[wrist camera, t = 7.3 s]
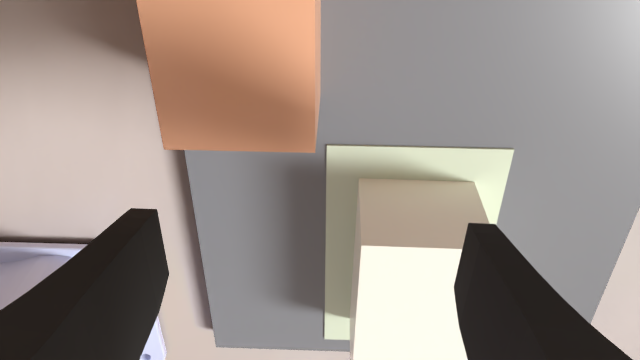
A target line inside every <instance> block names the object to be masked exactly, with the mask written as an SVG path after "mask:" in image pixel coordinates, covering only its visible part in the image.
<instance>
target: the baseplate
mask: <svg viewBox="0 0 640 360" xmlns="http://www.w3.org/2000/svg"><path fill="white" fill-rule="evenodd" d="M184 152H185V158H186V164H187V170H188V177H189V183H190V189H191V195H192V201H193V207H194V213H195V220H196V226H197V232H198V238H199V244H200V250H201V257H202V263H203V269H204V275H205V281H206V287H207V294H208V300H209V306H210V312H211V318H212V324H213V330H214V337H215V343H216V347H228V348H258V349H287V350H317V351H347V352H350V305H351V289H352V274H353V258H354V243H355V227H356V212H357V196H358V181H359V178H366V179H398V180H429V181H460V182H475V185H476V188H477V190H478V193H479V196H480V199H481V201H482V204H483V207H484V210H485V212H486V215H487V218H488V220H489V223H490V224H496V225H497V227H498V228H499V229H500V230H501V231H502V232H503V233H504V234H505V236H506V237H507V238H508V239H509V240H510V241H511V242H512V244H513V245H514V246H515V247H516V248H517V249H518V250H519V252H520V253H521V254H522V255H523V256H524V257H525V258H526V259H527V261H528V262H529V263H530V264H531V265H532V266H533V267H534V268H535V269H536V271H537V272H538V273H539V274H540V275H541V276H542V277H543V278H544V279H545V280H546V281H547V282H548V283H549V284H550V285H551V286H552V288H553V289H554V290H555V291H556V292H557V293H558V294H559V295H560V296H561V297H562V298H563V299H564V300H565V301H566V302H567V303H568V304H569V305H571V306H572V307H573V308H574V309H575V310H576V311H577V312H578V313H579V314H580V315H581V316H582V317H583V318H584V319H585V320H586V321H587V322H589V323H591V321H592V319H593V316H594V314H595V312H596V309H597V307H598V304H599V302H600V300H601V297H602V295H603V293H604V290H605V288H606V286H607V283H608V281H609V279H610V276H611V274H612V271H613V269H614V267H615V264H616V262H617V260H618V257H619V255H620V253H621V250H622V248H623V245H624V243H625V241H626V238H627V236H628V234H629V231H630V229H631V227H632V224H633V222H634V220H635V217H636V215H637V212H638V210H639V208H640V0H321V63H320V105H319V116H318V128H317V139H316V150H315V153H299V152H254V151H209V150H184Z"/></svg>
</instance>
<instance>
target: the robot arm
mask: <svg viewBox="0 0 640 360" xmlns="http://www.w3.org/2000/svg"><path fill="white" fill-rule="evenodd" d="M168 276H169V271H168V266H167V260H166V255H165V250H164V244H163V239H162V234H161V228H160V223H159V218H158V212H157V209H135V208H131V209H130V210H128V211H127V212H126V213H125V214H123V215H122V216H121V217H120V218H119V219H117V220H116V221H115V222H114V223H113V224H111V225H110V226H109V227H108V228H107V229H106V230H104V231H103V232H102V233H101V234H100V235H99V236H97V237H96V238H95V239H94V240H93V241H92V242H90V243H89V244H59V243H23V242H0V360H164V359H165V357H166V353H167V352H166V348H165V344H164V340H163V336H162V331H161V327H160V323H159V319H158V313H159V310H160V306H161V303H162V299H163V296H164V292H165V288H166V284H167V280H168ZM454 294H455V302H456V310H457V316H458V323H459V329H460V332H461V336H462V340H463V344H464V348H465V351H466V355H467V359H468V360H632V359H631V358H630V357H629V356H627V355H626V354H625V353H624V352H623V351H621V350H620V349H619V348H618V347H617V346H615V345H614V344H613V343H612V342H611V341H609V340H608V339H607V338H606V337H604V336H603V335H602V334H601V333H600V332H599V331H598V330H596V329H595V328H594V327H593V326H592V325H591V324H590V323H589V322H587V321H586V320H585V319H584V318H583V317H582V316H581V315H580V314H579V313H578V312H577V311H576V310H575V309H574V308H573V307H572V306H571V305H569V304H568V303H567V302H566V301H565V300H564V299H563V298H562V297H561V296H560V295H559V294H558V293H557V292H556V291H555V290H554V289H553V288H552V286H551V285H550V284H549V283H548V282H547V281H546V280H545V279H544V278H543V277H542V276H541V275H540V274H539V273H538V272H537V271H536V269H535V268H534V267H533V266H532V265H531V264H530V263H529V262H528V261H527V259H526V258H525V257H524V256H523V255H522V254H521V253H520V252H519V250H518V249H517V248H516V247H515V246H514V245H513V244H512V242H511V241H510V240H509V239H508V238H507V237H506V236H505V234H504V233H503V232H502V231H501V230H500V229H499V228H498V227H497V225H496V224H485V223H468V227H467V231H466V235H465V240H464V244H463V248H462V253H461V257H460V261H459V266H458V270H457V275H456V279H455V283H454Z"/></svg>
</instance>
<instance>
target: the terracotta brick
mask: <svg viewBox="0 0 640 360" xmlns="http://www.w3.org/2000/svg"><path fill="white" fill-rule="evenodd" d="M136 3H137V8H138V13H139V19H140V24H141V29H142V35H143V40H144V45H145V51H146V56H147V61H148V67H149V72H150V77H151V83H152V88H153V94H154V99H155V104H156V110H157V115H158V120H159V126H160V131H161V136H162V142H163V147H164V149H165V150H209V151H254V152H299V153H315V150H316V139H317V128H318V116H319V105H320V63H321V0H136Z"/></svg>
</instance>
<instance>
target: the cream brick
mask: <svg viewBox="0 0 640 360" xmlns="http://www.w3.org/2000/svg"><path fill="white" fill-rule="evenodd" d="M468 223H485V224H490V223H489V220H488V218H487V215H486V212H485V210H484V207H483V204H482V201H481V199H480V196H479V193H478V190H477V188H476V185H475V182H460V181H429V180H398V179H366V178H359V181H358V196H357V212H356V227H355V243H354V258H353V274H352V289H351V305H350V360H468V359H467V355H466V351H465V348H464V344H463V340H462V336H461V332H460V329H459V323H458V316H457V310H456V302H455V294H454V283H455V279H456V275H457V270H458V266H459V261H460V257H461V253H462V248H463V244H464V240H465V235H466V231H467V227H468Z"/></svg>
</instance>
